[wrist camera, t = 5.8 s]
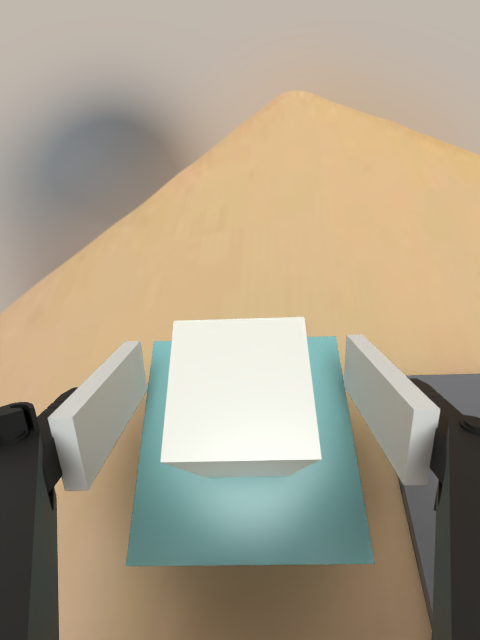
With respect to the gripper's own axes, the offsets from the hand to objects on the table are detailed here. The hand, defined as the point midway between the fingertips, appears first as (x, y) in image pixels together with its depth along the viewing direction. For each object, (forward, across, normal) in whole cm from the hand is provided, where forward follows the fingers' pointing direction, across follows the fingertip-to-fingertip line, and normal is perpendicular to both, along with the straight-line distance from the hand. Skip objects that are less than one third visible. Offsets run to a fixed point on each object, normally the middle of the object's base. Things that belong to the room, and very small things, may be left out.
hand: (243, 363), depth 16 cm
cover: (+4, 0, -8) cm, 9 cm away
